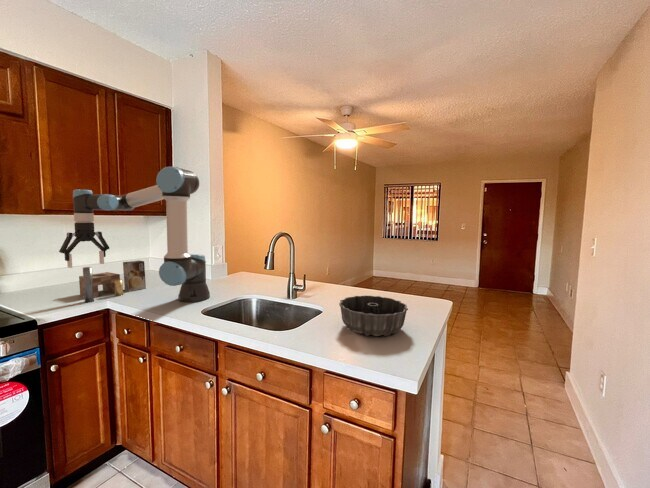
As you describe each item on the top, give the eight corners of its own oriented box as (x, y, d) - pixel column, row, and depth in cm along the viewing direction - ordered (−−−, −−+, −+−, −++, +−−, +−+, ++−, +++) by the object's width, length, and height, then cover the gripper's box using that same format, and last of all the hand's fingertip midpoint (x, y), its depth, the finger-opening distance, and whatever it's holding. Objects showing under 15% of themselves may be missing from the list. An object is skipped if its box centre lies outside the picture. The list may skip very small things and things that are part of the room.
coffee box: (141, 286, 185) (140, 260, 183) (146, 288, 181) (144, 261, 179) (124, 289, 177) (122, 261, 176) (128, 291, 174) (127, 263, 172)
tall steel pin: (95, 301, 154) (93, 267, 153) (87, 302, 151) (84, 268, 149) (91, 300, 156) (89, 266, 154) (83, 301, 153) (81, 267, 151)
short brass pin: (124, 294, 167) (123, 280, 166) (117, 296, 163) (116, 281, 163) (120, 293, 168) (120, 279, 167) (113, 295, 165) (112, 280, 164)
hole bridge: (120, 292, 172) (119, 274, 171) (92, 297, 160) (90, 278, 159) (108, 289, 178) (107, 272, 177) (80, 294, 165) (78, 276, 164)
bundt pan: (396, 317, 136) (397, 295, 135) (416, 342, 110) (417, 314, 109) (336, 317, 135) (336, 294, 134) (341, 342, 109) (342, 314, 108)
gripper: (108, 221, 162) (109, 261, 165) (48, 222, 140) (51, 268, 143) (116, 221, 159) (117, 263, 161) (56, 222, 137) (59, 270, 139)
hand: (86, 265), depth 152 cm, fingers open, 13 cm apart
